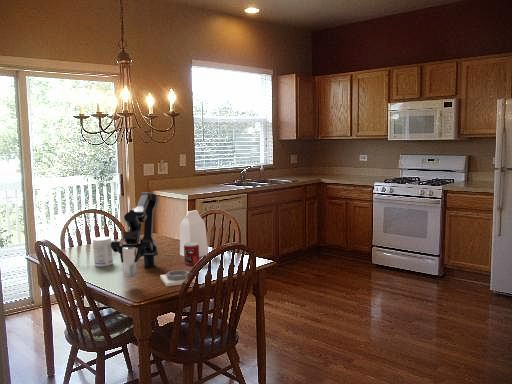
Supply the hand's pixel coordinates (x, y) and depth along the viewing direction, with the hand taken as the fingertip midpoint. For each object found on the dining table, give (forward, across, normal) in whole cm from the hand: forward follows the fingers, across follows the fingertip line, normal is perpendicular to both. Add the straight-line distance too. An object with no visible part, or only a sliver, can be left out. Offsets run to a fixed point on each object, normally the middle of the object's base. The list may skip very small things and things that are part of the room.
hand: (128, 262), depth 214 cm
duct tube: (+4, 0, +6) cm, 7 cm away
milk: (-32, +20, +49) cm, 62 cm away
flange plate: (+1, +20, +16) cm, 26 cm away
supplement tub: (-19, -26, +36) cm, 49 cm away
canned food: (-19, +22, +37) cm, 47 cm away
